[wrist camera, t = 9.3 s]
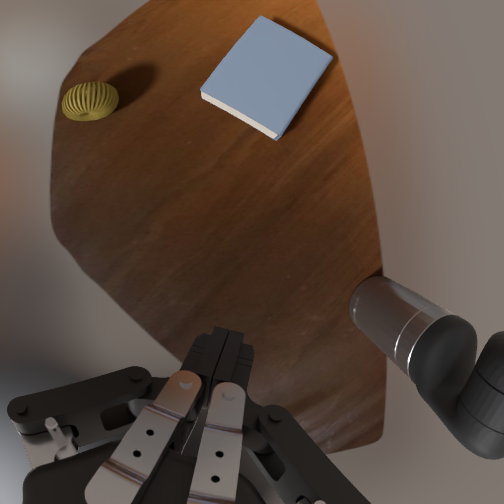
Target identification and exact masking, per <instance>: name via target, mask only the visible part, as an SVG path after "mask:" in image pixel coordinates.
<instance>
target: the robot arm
mask: <svg viewBox="0 0 504 504" xmlns="http://www.w3.org/2000/svg"><path fill="white" fill-rule="evenodd" d="M349 313H350V317H351V319H352V321H353V323H354V324H355V325H356V326H357V327H358V328H359V329H360V330H361V331H362V332H363V333H364V334H365V335H366V336H367V337H368V338H369V339H370V340H371V341H372V342H373V343H374V344H375V345H376V346H377V347H378V348H379V349H381V350H382V351H383V352H384V353H385V354H386V355H387V356H388V357H389V358H390V359H391V360H392V361H393V362H394V363H395V364H396V365H397V366H398V367H399V368H400V369H401V370H402V371H403V372H404V373H405V374H406V375H407V376H408V377H409V378H410V379H411V380H412V381H413V382H414V383H415V384H416V387H417V390H418V392H419V394H420V395H421V397H422V398H423V399H424V400H425V401H426V402H427V404H428V405H429V406H430V407H431V408H432V410H433V411H434V412H435V413H436V415H437V416H438V417H439V418H440V419H441V421H442V422H443V423H444V425H445V426H446V427H447V428H448V430H449V431H450V432H451V433H452V434H453V436H454V437H455V438H456V439H457V440H458V441H459V442H460V443H461V444H462V445H463V446H464V447H465V448H467V449H468V450H469V451H471V452H472V453H474V454H476V455H477V456H480V457H483V458H485V459H492V460H495V459H500V458H503V457H504V331H501V332H498V333H496V334H494V335H492V336H491V338H490V339H489V340H488V342H487V343H486V345H485V347H484V349H483V350H482V352H481V354H480V356H479V358H478V360H477V363H476V365H475V359H476V351H477V335H476V332H475V329H474V328H473V326H472V325H471V324H470V323H469V322H467V321H466V320H464V319H462V318H460V317H459V316H457V315H455V314H453V313H452V312H450V311H448V310H446V309H445V308H443V307H440V306H439V305H437V304H435V303H433V302H432V301H430V300H428V299H426V298H424V297H423V296H421V295H419V294H417V293H415V292H413V291H411V290H410V289H408V288H406V287H404V286H402V285H400V284H398V283H396V282H394V281H392V280H390V279H389V278H387V277H384V276H374V277H370V278H368V279H366V280H365V281H363V282H362V283H361V284H360V285H359V286H358V287H357V288H356V290H355V291H354V293H353V295H352V297H351V300H350V304H349ZM243 337H244V333H240V332H236V331H232V330H230V332H229V330H228V329H224V328H220V327H216V326H215V328H214V330H213V332H212V335H208V334H205V333H202V334H201V335H199V336H198V337H196V339H195V341H194V343H193V345H192V347H191V349H190V351H189V352H188V354H187V356H186V358H185V360H184V362H183V364H182V366H181V369H180V370H179V371H177V372H175V373H174V374H172V376H171V377H167V378H158V377H151V374H150V373H149V372H148V370H146V369H145V368H142V367H138V366H132V367H128V368H125V369H122V370H118V371H115V372H112V373H108V374H105V375H102V376H98V377H95V378H91V379H88V380H84V381H81V382H77V383H73V384H69V385H66V386H62V387H58V388H54V389H50V390H46V391H42V392H38V393H34V394H29V395H25V396H20V397H17V398H14V399H13V400H12V401H10V403H9V405H8V407H7V413H8V415H9V417H10V419H11V420H12V422H13V423H14V426H15V428H16V429H17V431H18V433H19V434H20V435H21V438H22V441H23V444H24V447H25V451H26V453H27V456H28V459H29V462H30V465H31V467H32V470H31V471H30V472H29V473H28V474H27V476H26V477H25V480H24V483H23V504H266V503H265V501H264V500H263V498H262V497H261V495H260V494H259V492H258V491H257V490H256V488H255V486H254V485H253V484H252V483H251V482H250V481H249V480H248V479H247V478H246V477H245V476H243V475H242V474H240V473H239V463H240V455H241V446H242V445H243V446H245V447H247V451H248V453H249V455H250V456H251V458H252V459H253V460H254V462H255V463H256V465H257V466H258V468H259V469H260V471H261V472H262V473H263V475H264V476H265V477H266V479H267V480H268V482H269V483H270V484H271V486H272V487H273V488H274V490H275V491H276V492H277V494H278V495H279V496H280V498H281V499H282V500H283V502H284V503H285V504H371V503H370V502H369V501H368V500H367V499H366V498H365V497H364V496H363V495H362V494H361V493H360V492H359V491H358V490H357V489H356V488H355V487H354V486H353V484H351V482H350V481H349V480H348V479H347V478H346V477H345V476H344V475H343V474H342V473H341V472H340V471H339V470H338V468H337V467H336V466H335V465H334V464H333V463H332V462H331V461H330V460H329V458H328V457H327V456H326V455H325V454H324V453H323V452H322V451H321V449H320V448H319V447H318V446H317V445H316V444H315V443H314V441H313V440H312V439H311V438H310V437H309V436H308V434H307V433H306V432H305V431H304V430H303V428H302V427H301V426H300V425H299V424H298V423H297V421H296V420H295V419H294V418H293V417H292V415H291V414H290V413H289V412H288V411H287V410H286V409H285V408H283V407H281V406H278V405H268V406H265V407H262V406H260V405H258V404H256V403H254V402H253V401H252V400H251V399H250V398H249V396H248V394H247V386H248V381H249V377H250V372H251V367H252V363H253V358H254V354H255V353H254V350H253V347H252V345H247V344H243V343H242V341H243ZM208 403H209V405H208ZM207 406H208V410H209V412H208V416H207V421H206V424H205V427H204V431H203V435H202V440H201V444H200V449H199V453H198V457H192V456H184V455H181V454H182V451H183V448H184V446H185V444H186V442H187V440H188V438H189V436H190V434H191V432H192V429H193V427H194V425H195V423H196V421H197V417H198V415H199V413H200V410H201V408H203V409H207ZM125 431H128V432H127V434H126V435H125V437H124V438H123V439H122V440H116V441H112V442H109V443H106V444H104V445H101V446H99V447H96V448H93V449H90V450H88V451H85V452H82V453H79V454H77V452H78V447H81V446H84V445H87V444H91V443H94V442H96V441H99V440H102V439H105V438H109V437H111V436H114V435H117V434H120V433H123V432H125Z"/></svg>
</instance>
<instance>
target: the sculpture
mask: <svg viewBox="0 0 504 504" xmlns="http://www.w3.org/2000/svg"><path fill="white" fill-rule="evenodd" d="M96 97H97V98H96ZM100 98H101V100H100ZM86 99H87V106H86V104H85V102H86ZM104 99H105V100H104ZM76 100H77V101H76ZM94 101H95V102H94ZM118 102H119V96H118V92H117V90H116V89H115V88H114V87H113V86H111V85H109V84H107V83H104V82H92V84H91V82H87V83H83V84H79V85H77V86H75V87H74V88H72V89H71V90H69V91H68V92H67V93H66V95H65V96H64V99H63V101H62V110H63V112H64V114H65V115H66V116H67V117H68V118H70V119H72V120H76V121H89V120H90V121H91V120H97V119H101V118H103V117H106V116H108V115H109V114H111V113H112V112H113V111H114V110H115V108H116V107H117V104H118ZM82 103H83V104H82ZM94 103H95V105H94ZM98 103H99V105H98ZM102 103H103V104H102ZM81 104H82V105H81ZM77 105H78V106H77ZM101 105H102V106H101ZM93 106H94V107H93Z"/></svg>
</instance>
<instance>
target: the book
mask: <svg viewBox="0 0 504 504" xmlns="http://www.w3.org/2000/svg"><path fill="white" fill-rule="evenodd" d="M332 59H333V57H332V56H331V55H329V54H328V53H326V52H325V51H323V50H322V49H320V48H318V47H317V46H315V45H314V44H312V43H310V42H309V41H307V40H305V39H304V38H302V37H300V36H298V35H297V34H295V33H293V32H291V31H290V30H288V29H286V28H284V27H282V26H280V25H279V24H277V23H275V22H273V21H271V20H269V19H267V18H265V17H263V16H261V15H260V17H259V18H258V19H257V20H256V21H255V22H254V23H253V24H252V25H251V27H250V28H249V29H248V30H247V31H246V32H245V33H244V35H243V36H242V37H241V38H240V39H239V40H238V42H237V43H236V44H235V45H234V46H233V48H232V49H231V50H230V51H229V53H228V54H227V55H226V56H225V58H224V59H223V60H222V61H221V63H220V64H219V65H218V66H217V68H216V69H215V70H214V72H213V73H212V74H211V76H210V77H209V78H208V80H207V81H206V82H205V84H204V85H203V86H202V88H201V89H200V91H201V94H202V97H201V98H203V99H204V100H206V101H208V102H210V103H212V104H214V105H216V106H218V107H219V108H221V109H223V110H225V111H227V112H228V113H230V114H232V115H234V116H236V117H237V118H239V119H241V120H243V121H244V122H246V123H248V124H249V125H251V126H253V127H254V128H256V129H258V130H259V131H261V132H263V133H264V134H266V135H268V136H269V137H271V138H273V139H274V140H276V141H277V140H278V139H279V138H280V137H281V136H282V134H283V133H284V131H285V130H286V128H287V127H288V125H289V124H290V122H291V120H292V119H293V117H294V116H295V114H296V113H297V111H298V110H299V108H300V107H301V105H302V104H303V102H304V101H305V99H306V97H307V96H308V94H309V93H310V91H311V90H312V88H313V87H314V85H315V84H316V82H317V81H318V79H319V78H320V76H321V75H322V73H323V72H324V71H325V69H326V68H327V66H328V65H329V63H330V62H331V60H332Z"/></svg>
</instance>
